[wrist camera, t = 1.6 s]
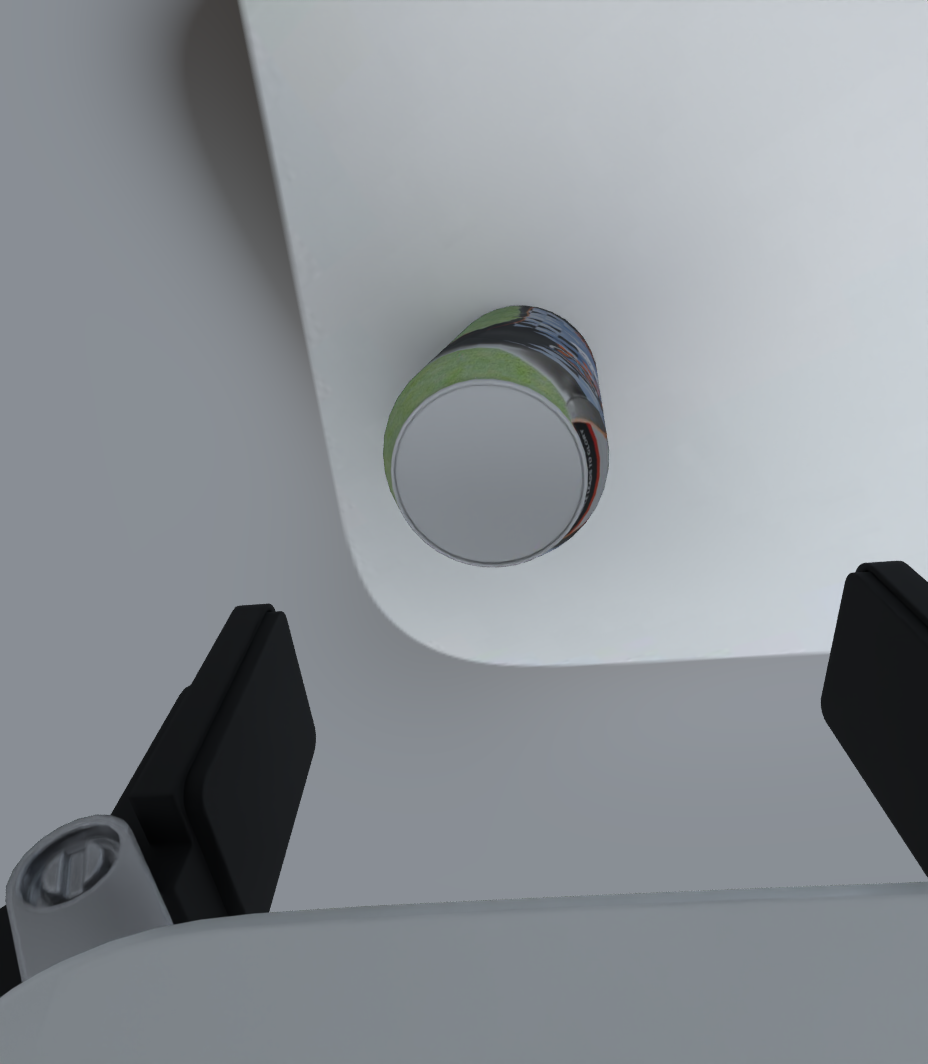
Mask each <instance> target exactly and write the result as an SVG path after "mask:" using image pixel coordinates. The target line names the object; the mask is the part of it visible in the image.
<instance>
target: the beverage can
mask: <svg viewBox="0 0 928 1064" xmlns="http://www.w3.org/2000/svg"><path fill="white" fill-rule="evenodd" d="M383 457H384V466H385V474H386V477H387V481H388V484H389V488H390V491H391V493H392V495H393V497H394V499H395V501H396V503H397V505H398V507H399V509H400V510H401V512H402V515H403V517H404V518H405V520H406V521H407V523H408V524H409V525H410V527H411V528H412V530H413V531H414V532H415V533H416V534H417V535H418V536H419V537H420V538H421V539H422V540H423V541H424V542H425V543H427V544H428V545H429V546H431V547H432V548H433V549H435V550H436V551H437V552H439V553H441V554H443V555H445V556H447V557H449V558H451V559H453V560H456V561H459V562H462V563H465V564H469V565H474V566H480V567H505V566H512V565H517V564H520V563H523V562H527V561H530V560H532V559H534V558H536V557H539V556H542V555H544V554H546V553H548V552H550V551H552V550H554V549H556V548H558V547H559V546H560V545H562V544H563V543H564V542H566V541H567V540H568V539H570V538H571V537H573V536H574V534H575V533H576V532H577V531H578V530H579V529H580V528H581V527H582V526H583V525H584V524H585V523H586V522H587V520H588V519H589V517H590V516H591V514H592V513H593V511H594V510H595V508H596V506H597V504H598V502H599V500H600V497H601V495H602V492H603V490H604V487H605V482H606V478H607V473H608V466H609V446H608V440H607V433H606V427H605V421H604V414H603V408H602V401H601V395H600V388H599V382H598V375H597V369H596V363H595V361H594V358H593V355H592V352H591V350H590V348H589V346H588V344H587V343H586V341H585V339H584V338H583V337H582V335H581V334H580V333H579V332H578V331H577V330H576V328H575V327H573V326H572V325H571V324H570V323H569V322H567V321H566V320H565V319H563V318H562V317H560V316H558V315H556V314H554V313H553V312H550V311H547V310H544V309H541V308H538V307H530V306H509V307H505V308H501V309H496V310H494V311H492V312H490V313H487V314H485V315H483V316H482V317H480V318H479V319H477V320H476V321H474V322H473V323H471V324H470V325H469V326H468V327H467V328H466V329H465V330H464V331H463V332H462V333H461V334H460V335H458V336H457V337H456V338H455V339H454V340H453V341H452V342H451V343H450V344H449V345H448V346H447V347H446V348H445V349H443V350H442V351H441V352H440V353H439V354H438V355H437V356H436V357H435V358H434V359H433V360H432V361H431V362H430V363H428V364H427V365H426V366H425V367H424V368H423V369H422V370H421V371H420V372H419V373H418V374H417V375H416V376H415V377H414V378H413V379H412V380H411V381H410V382H409V383H408V384H407V386H406V387H405V388H404V390H403V391H402V393H401V394H400V395H399V397H398V398H397V400H396V402H395V405H394V407H393V409H392V411H391V413H390V416H389V419H388V423H387V427H386V431H385V435H384V448H383Z"/></svg>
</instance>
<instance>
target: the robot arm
mask: <svg viewBox="0 0 928 1064" xmlns="http://www.w3.org/2000/svg"><path fill="white" fill-rule="evenodd" d="M821 709H822V713H823V716H824V719H825V721H826V723H827V724H828V726H829V727H830V729H831V730H832V732H833V733H834V735H835V736H836V738H837V739H838V741H839V743H840V744H841V746H842V747H843V749H844V750H845V752H846V753H847V755H848V756H849V758H850V759H851V761H852V762H853V764H854V765H855V767H856V769H857V770H858V772H859V773H860V775H861V776H862V778H863V779H864V781H865V782H866V784H867V785H868V787H869V788H870V790H871V792H872V793H873V795H874V796H875V797H876V799H877V801H878V802H879V804H880V805H881V807H882V808H883V810H884V811H885V813H886V814H887V816H888V818H889V819H890V820H891V822H892V824H893V825H894V827H895V828H896V830H897V831H898V833H899V834H900V836H901V837H902V839H903V840H904V842H905V844H906V845H907V847H908V848H909V850H910V851H911V853H912V854H913V856H914V857H915V859H916V860H917V862H918V863H919V865H920V866H921V868H922V870H923V871H924V873H925V874H926V876H927V877H928V582H927V581H926V580H925V579H924V578H922V577H921V576H920V575H919V574H918V573H917V572H916V571H914V570H913V569H912V568H911V567H910V566H909V565H908V564H906V563H904V562H903V561H887V562H872V563H863V564H861V565H859V567H858V568H857V570H856V572H855V573H850V574H849V575H848V576H847V578H846V581H845V585H844V590H843V595H842V599H841V604H840V609H839V614H838V619H837V624H836V628H835V633H834V638H833V643H832V648H831V653H830V658H829V662H828V667H827V672H826V677H825V682H824V687H823V691H822V696H821ZM315 743H316V732H315V726H314V723H313V719H312V715H311V711H310V707H309V703H308V699H307V695H306V691H305V687H304V684H303V680H302V676H301V672H300V668H299V664H298V660H297V656H296V653H295V649H294V645H293V641H292V637H291V633H290V629H289V625H288V621H287V618H286V615H285V614H284V612H282V611H278V612H276V611H275V609H274V607H273V606H272V605H271V604H257V605H242V606H237V607H235V609H234V610H233V611H232V613H231V615H230V617H229V619H228V620H227V622H226V624H225V625H224V627H223V629H222V631H221V633H220V634H219V636H218V638H217V640H216V641H215V643H214V645H213V647H212V649H211V650H210V652H209V654H208V656H207V657H206V659H205V661H204V663H203V664H202V666H201V668H200V670H199V672H198V673H197V675H196V677H195V679H194V681H193V682H192V684H191V685H190V686H188V687H186V688H185V689H184V690H183V691H182V693H181V694H180V695H179V697H178V699H177V700H176V702H175V704H174V706H173V707H172V709H171V711H170V713H169V715H168V716H167V718H166V720H165V721H164V723H163V725H162V726H161V729H160V730H159V732H158V733H157V735H156V737H155V739H154V740H153V742H152V744H151V746H150V748H149V749H148V751H147V753H146V754H145V756H144V758H143V760H142V761H141V763H140V765H139V767H138V768H137V770H136V772H135V774H134V775H133V777H132V779H131V780H130V782H129V784H128V786H127V787H126V789H125V791H124V793H123V794H122V796H121V798H120V799H119V801H118V803H117V805H116V806H115V808H114V810H113V812H112V814H111V815H93V816H88V817H84V818H80V819H77V820H74V821H72V822H70V823H68V824H65V825H63V826H61V827H59V828H57V829H56V830H54V831H53V832H51V833H50V834H48V835H47V836H45V837H43V838H42V839H41V840H40V841H38V842H37V843H36V844H35V845H34V846H33V847H32V848H31V849H30V850H29V851H28V852H26V854H25V855H24V856H23V857H22V859H21V860H20V861H19V863H18V864H17V865H16V867H15V868H14V869H13V871H12V874H11V876H10V878H9V881H8V883H7V885H6V905H5V906H4V907H2V908H0V1064H928V882H909V883H883V884H857V885H830V886H803V887H778V888H750V889H727V890H703V891H680V892H656V893H635V894H610V895H589V896H565V897H543V898H522V899H502V900H483V901H482V900H481V901H463V902H462V901H461V902H443V903H442V902H441V903H420V904H399V905H380V906H361V907H345V908H330V909H315V910H300V911H286V912H270V913H269V911H270V907H271V903H272V900H273V896H274V893H275V889H276V886H277V882H278V878H279V875H280V871H281V868H282V864H283V861H284V857H285V854H286V850H287V847H288V843H289V839H290V836H291V832H292V829H293V825H294V822H295V818H296V814H297V811H298V807H299V804H300V800H301V797H302V793H303V790H304V786H305V783H306V779H307V775H308V772H309V768H310V765H311V761H312V758H313V754H314V750H315Z"/></svg>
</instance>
